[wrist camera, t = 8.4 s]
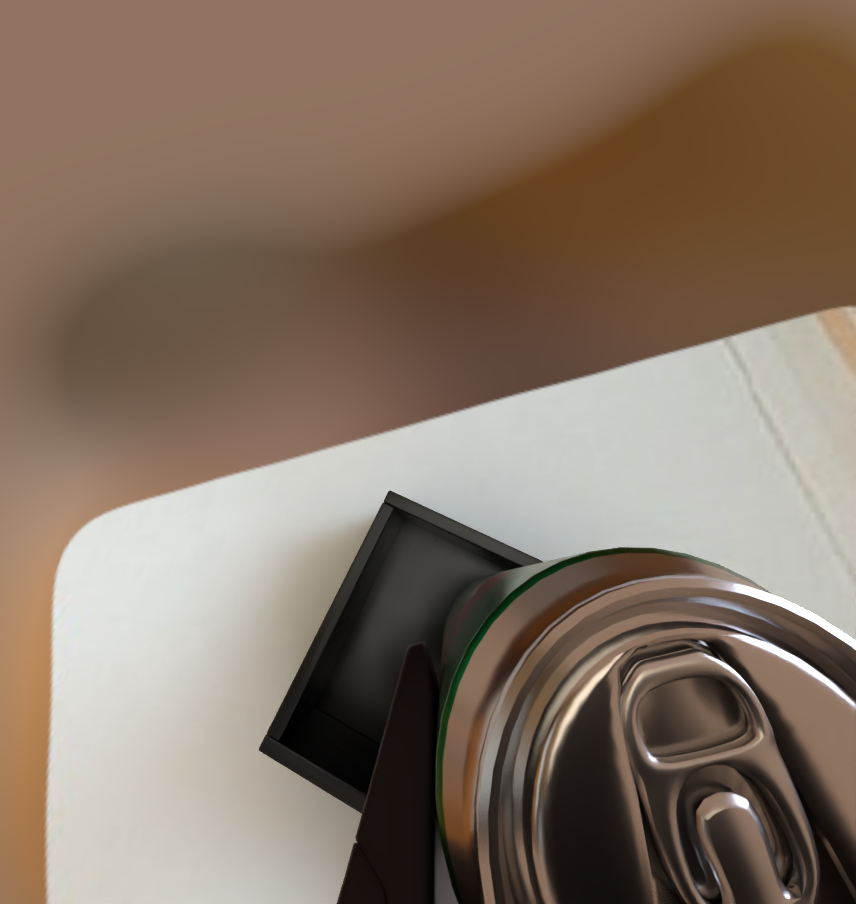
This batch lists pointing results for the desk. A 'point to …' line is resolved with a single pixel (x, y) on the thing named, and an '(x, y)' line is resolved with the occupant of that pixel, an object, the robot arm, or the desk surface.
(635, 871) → the soda can
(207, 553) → the desk surface
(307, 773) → the open black square box
